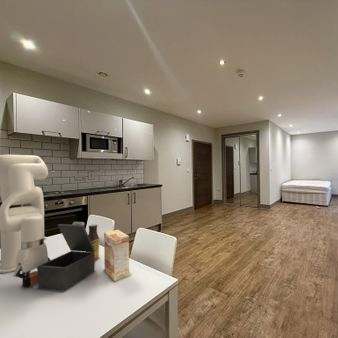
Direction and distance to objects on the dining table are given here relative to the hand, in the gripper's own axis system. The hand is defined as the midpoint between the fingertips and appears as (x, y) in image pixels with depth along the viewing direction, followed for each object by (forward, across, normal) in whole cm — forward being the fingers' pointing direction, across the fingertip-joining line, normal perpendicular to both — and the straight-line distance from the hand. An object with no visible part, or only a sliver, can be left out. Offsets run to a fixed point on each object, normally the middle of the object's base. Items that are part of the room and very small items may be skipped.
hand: (33, 282), depth 87 cm
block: (0, 0, 0) cm, 0 cm away
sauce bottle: (+1, -24, +8) cm, 25 cm away
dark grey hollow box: (0, -5, +13) cm, 14 cm away
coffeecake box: (+1, -14, +31) cm, 34 cm away
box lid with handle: (-17, -9, +13) cm, 24 cm away
